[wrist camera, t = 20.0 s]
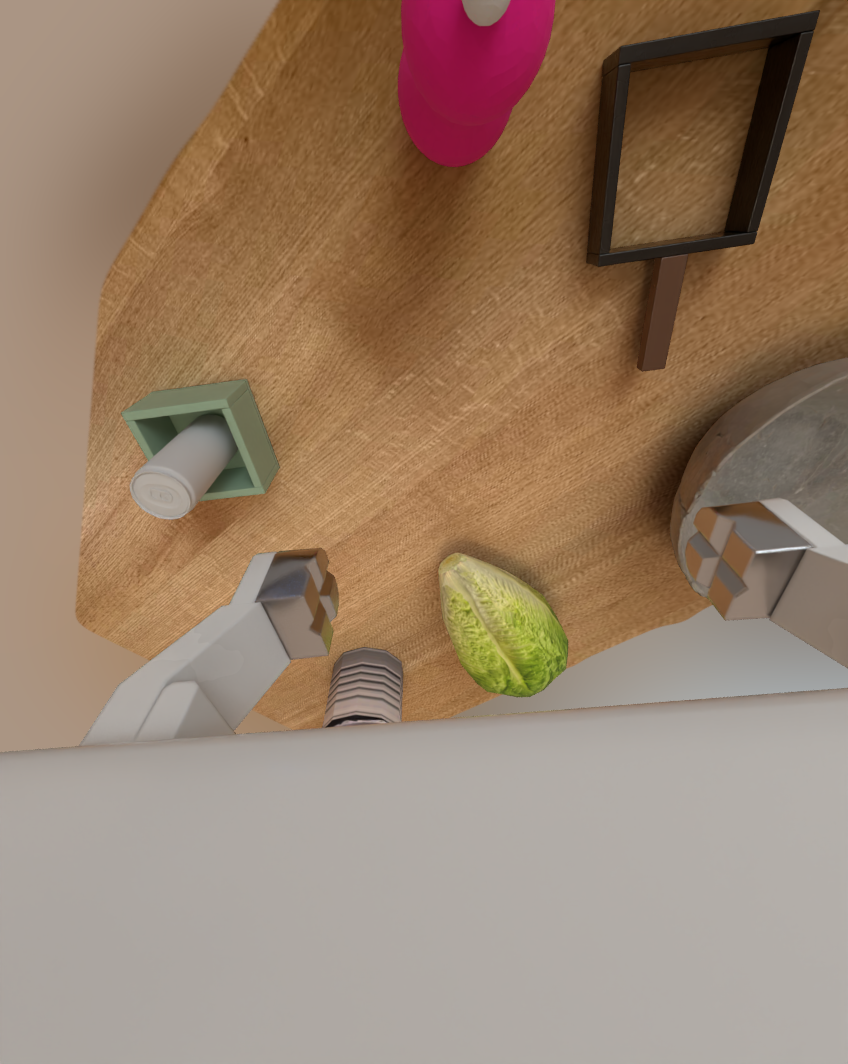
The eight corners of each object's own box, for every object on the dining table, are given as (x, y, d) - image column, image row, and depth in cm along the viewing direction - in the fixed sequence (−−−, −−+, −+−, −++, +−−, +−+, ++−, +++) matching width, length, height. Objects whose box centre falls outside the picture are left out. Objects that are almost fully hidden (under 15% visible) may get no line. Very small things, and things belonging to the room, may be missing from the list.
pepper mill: (526, 89, 29) (656, -63, 13) (458, 196, 33) (496, 179, 17) (444, -11, 26) (481, -353, 10) (380, 117, 30) (334, 7, 14)
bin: (151, 391, 41) (120, 412, 37) (246, 378, 41) (225, 398, 36) (196, 477, 47) (173, 504, 43) (279, 467, 46) (265, 493, 42)
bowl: (605, 425, 44) (646, 473, 36) (931, 252, 35) (1083, 263, 27) (671, 585, 58) (711, 645, 50) (915, 491, 49) (1013, 545, 41)
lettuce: (519, 532, 45) (426, 624, 42) (603, 657, 54) (529, 739, 51) (461, 514, 56) (386, 585, 54) (538, 619, 65) (475, 684, 63)
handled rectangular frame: (603, 60, 28) (620, 45, 26) (785, 27, 28) (820, 9, 25) (576, 369, 40) (586, 378, 38) (703, 352, 40) (721, 361, 37)
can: (370, 636, 64) (361, 712, 54) (418, 671, 69) (418, 745, 59) (318, 666, 68) (302, 741, 58) (368, 697, 73) (360, 770, 64)
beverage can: (241, 460, 45) (193, 526, 36) (193, 449, 44) (131, 514, 35) (242, 418, 42) (190, 477, 33) (191, 406, 42) (123, 463, 32)
